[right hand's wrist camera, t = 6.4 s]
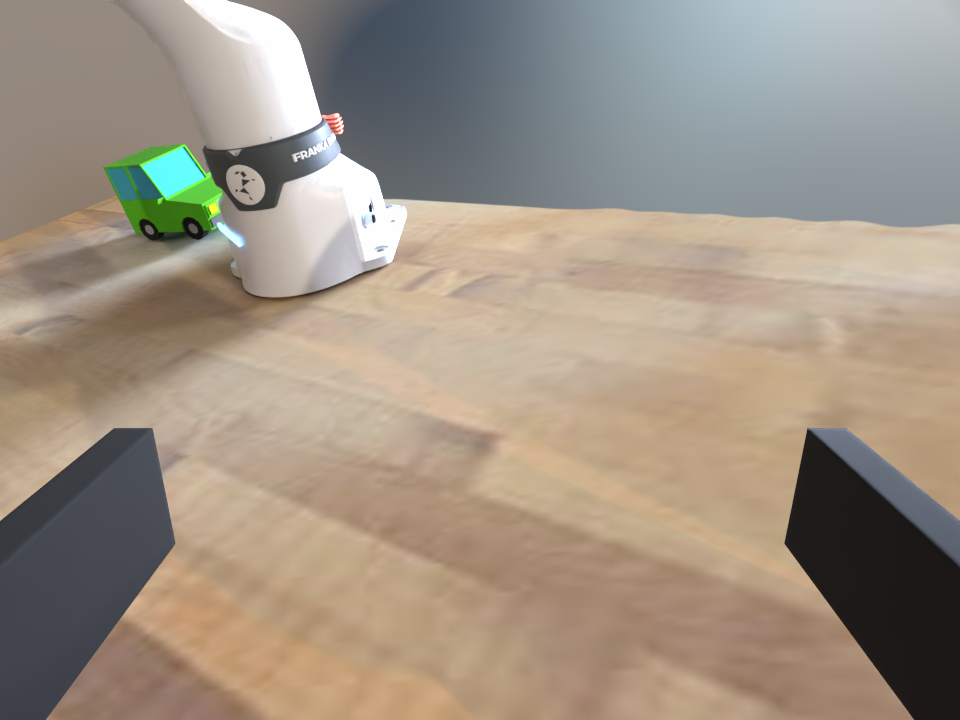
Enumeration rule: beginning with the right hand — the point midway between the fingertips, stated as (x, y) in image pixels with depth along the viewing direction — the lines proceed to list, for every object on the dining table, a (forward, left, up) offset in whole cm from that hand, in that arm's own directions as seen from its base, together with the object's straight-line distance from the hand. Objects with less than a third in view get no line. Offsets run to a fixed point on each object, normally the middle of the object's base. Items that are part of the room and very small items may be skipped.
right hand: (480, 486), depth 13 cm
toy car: (-15, -81, -17) cm, 84 cm away
